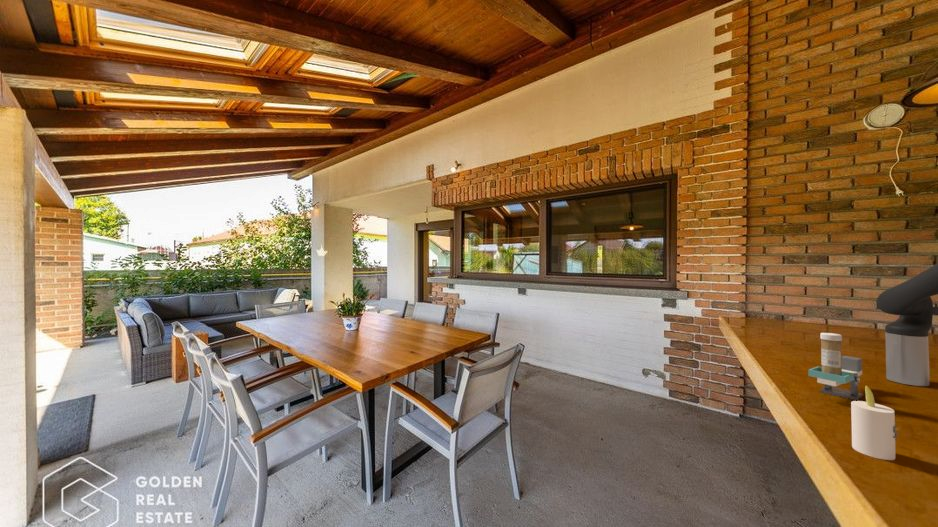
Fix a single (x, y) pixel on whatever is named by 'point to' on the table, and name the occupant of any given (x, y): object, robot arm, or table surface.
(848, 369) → the beam
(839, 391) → the pivot stand
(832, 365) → the sprinkles bottle
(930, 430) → the table surface
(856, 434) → the candle
